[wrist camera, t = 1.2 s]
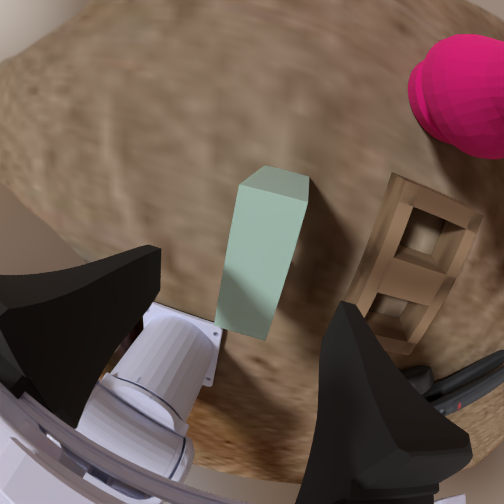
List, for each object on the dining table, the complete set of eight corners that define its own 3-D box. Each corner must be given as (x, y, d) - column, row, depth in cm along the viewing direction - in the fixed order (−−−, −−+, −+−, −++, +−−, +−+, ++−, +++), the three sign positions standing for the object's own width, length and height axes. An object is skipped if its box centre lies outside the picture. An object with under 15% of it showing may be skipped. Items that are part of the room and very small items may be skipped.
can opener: (369, 409, 26) (371, 449, 21) (367, 373, 24) (372, 418, 19) (498, 370, 21) (513, 403, 16) (512, 328, 19) (533, 362, 14)
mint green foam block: (280, 279, 21) (265, 340, 15) (242, 268, 22) (213, 325, 15) (309, 176, 18) (308, 202, 11) (265, 165, 18) (239, 184, 12)
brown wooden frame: (401, 332, 21) (409, 355, 18) (336, 316, 22) (337, 341, 19) (463, 203, 16) (483, 215, 13) (391, 172, 16) (405, 180, 14)
